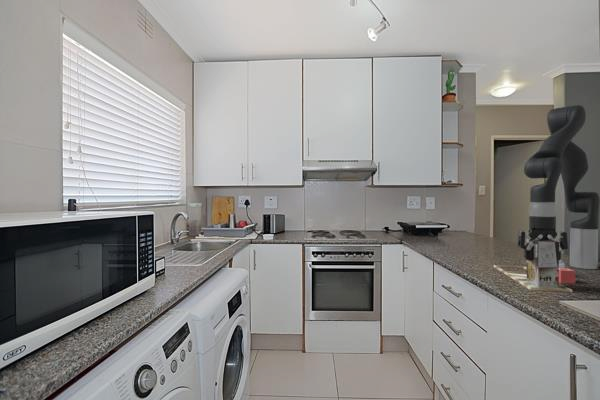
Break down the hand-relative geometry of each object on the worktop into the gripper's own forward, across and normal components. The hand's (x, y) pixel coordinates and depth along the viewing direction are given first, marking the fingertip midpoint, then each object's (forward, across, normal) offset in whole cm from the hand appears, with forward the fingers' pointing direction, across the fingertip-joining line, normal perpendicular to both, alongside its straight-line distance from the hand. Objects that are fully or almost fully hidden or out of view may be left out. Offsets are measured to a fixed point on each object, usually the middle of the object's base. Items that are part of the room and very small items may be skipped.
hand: (542, 260), depth 113 cm
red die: (+9, -11, -8) cm, 16 cm away
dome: (+6, -12, -19) cm, 24 cm away
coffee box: (+9, 0, 0) cm, 9 cm away
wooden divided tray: (+9, 0, -11) cm, 14 cm away
